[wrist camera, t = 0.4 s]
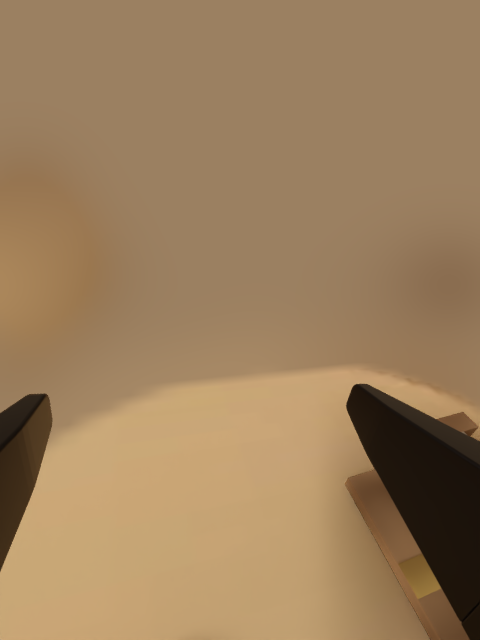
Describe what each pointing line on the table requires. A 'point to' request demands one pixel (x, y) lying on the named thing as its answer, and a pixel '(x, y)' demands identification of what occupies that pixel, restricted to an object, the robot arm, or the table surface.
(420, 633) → the table surface
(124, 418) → the table surface
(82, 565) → the table surface
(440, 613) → the stand
